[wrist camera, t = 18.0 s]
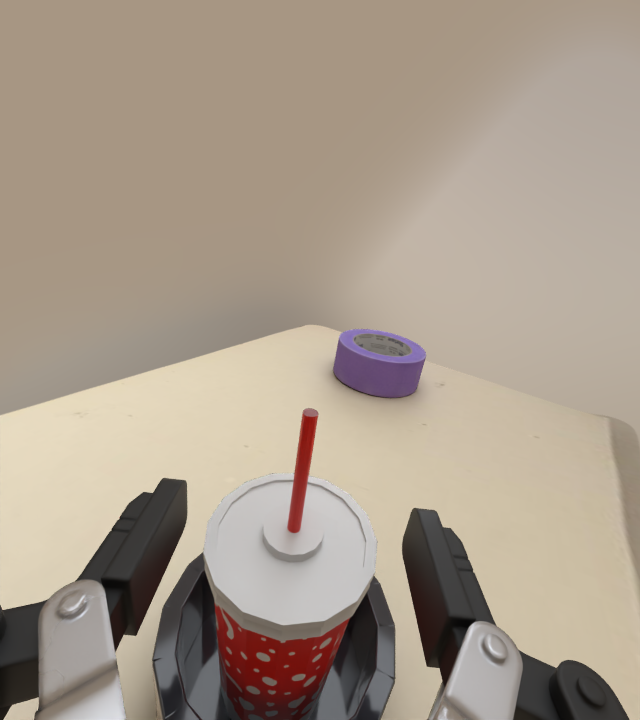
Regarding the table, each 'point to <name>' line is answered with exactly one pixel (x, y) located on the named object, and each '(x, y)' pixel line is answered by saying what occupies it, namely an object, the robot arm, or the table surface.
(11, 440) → the table surface
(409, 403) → the table surface
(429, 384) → the table surface
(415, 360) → the tape roll
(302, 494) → the beverage cup
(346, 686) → the socket
